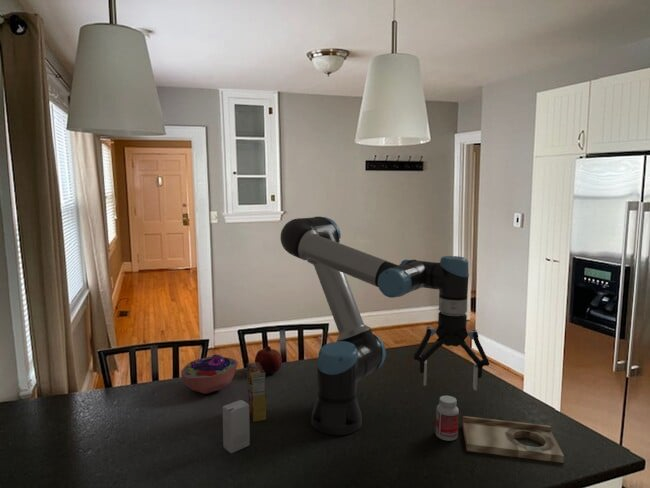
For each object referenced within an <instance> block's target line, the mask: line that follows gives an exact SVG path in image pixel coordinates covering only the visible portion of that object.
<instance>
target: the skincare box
mask: <svg viewBox="0 0 650 488" xmlns="http://www.w3.org/2000/svg"><path fill="white" fill-rule="evenodd" d="M250 428H251V427H250V410H249V404H248V402H246V401H244V400H242V399H239V400H236V401H234V402H231V403H228V404H226V405H223V406H222V432H223V433H222V437H223V438H222V439H223V440H222V443H223V448H224V449H225V450H226V451H227V452H229V453H230V454H234V453H236V452H238V451H240V450H242V449H245V448H246V447H249V446H250V445H251V441H250V440H251V439H250V438H251V436H250V435H251V434H250V433H251V432H250Z"/></svg>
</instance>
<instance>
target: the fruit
mask: <svg viewBox="0 0 650 488" xmlns="http://www.w3.org/2000/svg"><path fill="white" fill-rule="evenodd" d="M254 362H259V363H260V365H261V366H262V368H263V370H264V372H265V374H272V375H273V374H275V373H276V372H278V371H279V370H281V367H282V364H283V358H282V355H281V353H280V352H279V351H278V350H276V349H275V348H272V347H271V346H270V345H269V346H268V345H267V346H266V347H265V348H262V349H260V350H259V351H257V352H256V354H255V359H254Z"/></svg>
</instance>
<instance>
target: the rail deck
mask: <svg viewBox="0 0 650 488" xmlns="http://www.w3.org/2000/svg"><path fill="white" fill-rule="evenodd" d="M462 430H463V437H464V442H465V447H466V451H467V452H473V453H481V454H490V455H491V454H492V455H496V456H497V455H498V456H504V457H505V456H506V457H513V458H514V457H516V458H522V459H529V460H530V459H531V460H537V461H546V462H553V463H561V464H563V463H564V461H565V460H564V459H565V455H564V453H563V452H562V450H561V447H560V446H559V443H558V442H557V440H556V438H555V436H554V434H553V432H552V426H551V425H547V424H540V423H539V424H537V423H530V422H521V421H520V422H519V421H513V420H512V421H511V420H502V419H494V418H484V417H477V416H476V417H475V416H466V415H463V416H462ZM519 438H520V439H521V438H524V439H530V440H533V441H536V442H538V443H539V444H541V446H531V445H525V444H523V443H520V441H518V440H517V439H519Z"/></svg>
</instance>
